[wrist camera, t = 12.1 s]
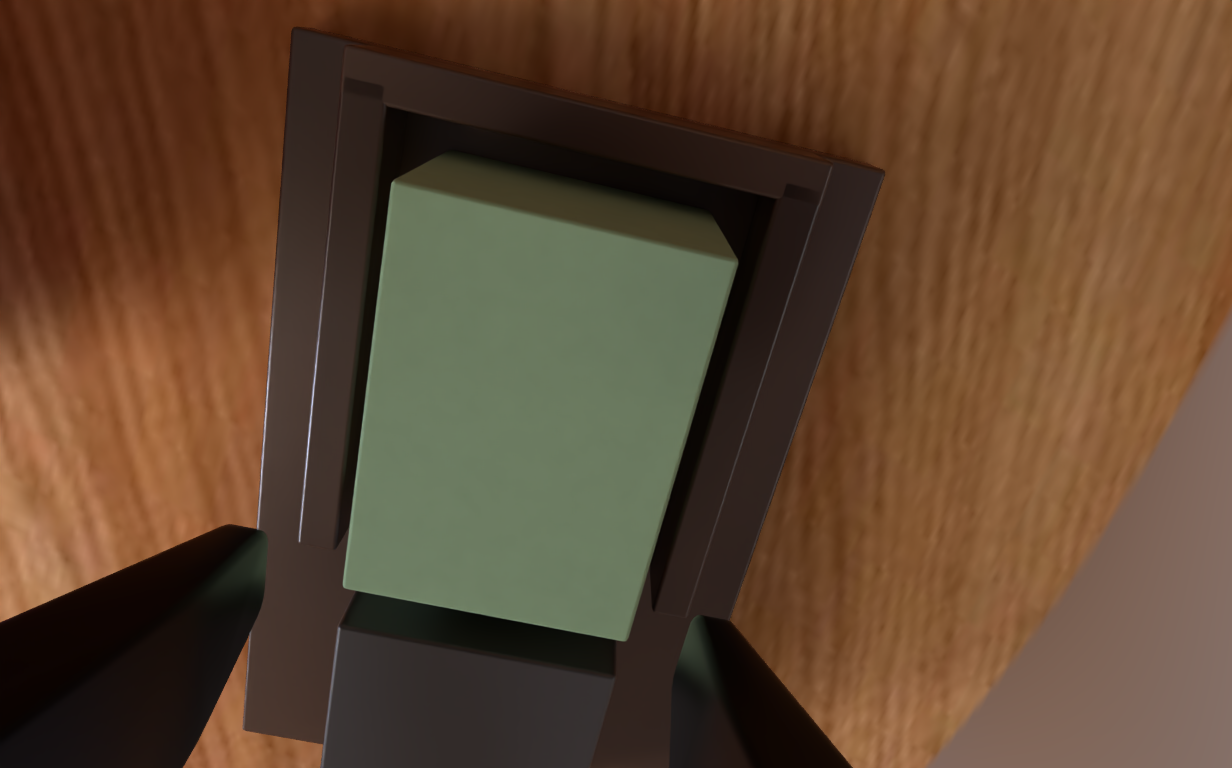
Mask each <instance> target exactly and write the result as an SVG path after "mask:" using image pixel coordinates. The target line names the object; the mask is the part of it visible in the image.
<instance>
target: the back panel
mask: <svg viewBox="0 0 1232 768" xmlns="http://www.w3.org/2000/svg"><path fill="white" fill-rule="evenodd" d="M449 150H454V151H459V152H463V153H467V154H471V155H476V156H480V157H484V158H488V159H493V160H497V161H501V162H505V163H510V164H514V165H518V166H522V167H527V168H531V169H535V170H539V171H544V172H548V173H552V174H556V175H561V176H565V177H569V178H573V179H577V180H582V181H586V182H590V183H594V184H599V185H603V186H607V187H611V188H616V189H620V190H624V191H628V192H633V193H637V194H641V195H645V196H650V197H654V198H658V199H662V200H667V201H671V202H675V203H679V204H684V205H688V206H692V207H696V208H701V209H705V210H708V211H709V212H710V213H711V214H712V216H713V218H714V219H715V221H716V223H717V225H718V226H719V228H720V230H721V232H722V233H723V235H724V237H725V238H726V240H727V242H728V244H729V245H730V247H731V249H732V251H733V252H734V254H735V256H736V257H737V259H738V266H737V270H736V273H735V277H734V280H733V283H732V287H731V290H730V294H729V297H728V300H727V304H726V307H725V311H724V314H723V317H722V321H721V324H720V328H719V331H718V335H717V338H716V341H715V345H714V348H713V352H712V355H711V358H710V362H709V365H708V369H707V372H706V375H705V379H704V382H703V386H702V389H701V392H700V396H699V399H698V403H697V406H696V409H695V413H694V416H693V420H692V423H691V426H690V430H689V433H688V437H687V440H686V444H685V447H684V450H683V454H682V457H681V461H680V464H679V467H678V471H677V474H676V478H675V481H674V484H673V488H672V491H671V495H670V498H669V501H668V505H667V508H666V512H665V515H664V518H663V522H662V525H661V529H660V532H659V535H658V539H657V542H656V546H655V549H654V553H653V556H652V559H651V563H650V566H649V570H648V573H647V576H646V580H645V583H644V587H643V590H642V593H641V597H640V600H639V604H638V607H637V610H636V614H635V617H634V621H633V624H632V627H631V631H630V634H629V638H628V639H627V641H618V640H613V639H608V638H603V637H597V636H592V635H587V634H582V633H576V632H571V631H566V630H561V629H555V628H550V627H545V626H539V625H534V624H529V623H524V622H518V621H513V620H508V619H503V618H497V617H492V616H487V615H482V614H476V613H471V612H466V611H460V610H455V609H450V608H445V607H439V606H434V605H429V604H424V603H418V602H413V601H408V600H403V599H397V598H392V597H387V596H381V595H376V594H371V593H366V592H360V591H355V590H350V589H346V588H344V587H343V577H344V569H345V561H346V553H347V544H348V536H349V528H350V520H351V511H352V503H353V495H354V487H355V479H356V470H357V462H358V454H359V446H360V437H361V429H362V421H363V413H364V405H365V396H366V388H367V380H368V372H369V363H370V355H371V347H372V339H373V331H374V322H375V314H376V306H377V298H378V289H379V281H380V273H381V265H382V257H383V248H384V240H385V232H386V224H387V215H388V207H389V199H390V191H391V183H392V182H393V180H395V179H396V178H398V177H400V176H402V175H404V174H406V173H408V172H410V171H411V170H413V169H415V168H417V167H419V166H421V165H423V164H425V163H426V162H428V161H430V160H432V159H434V158H436V157H438V156H440V155H441V154H443V153H445V152H447V151H449ZM884 177H885V171H884V170H883V169H880V168H878V167H876V166H873V165H871V164H868V163H864V162H860V161H856V160H852V159H847V158H843V157H839V156H835V155H831V154H827V153H823V152H819V151H815V150H811V149H806V148H802V147H798V146H794V145H790V144H786V143H782V142H778V141H774V140H770V139H766V138H761V137H757V136H753V135H749V134H745V133H741V132H737V131H733V130H729V129H725V128H720V127H716V126H712V125H708V124H704V123H700V122H696V121H692V120H688V119H684V118H679V117H675V116H671V115H667V114H663V113H659V112H655V111H651V110H647V109H643V108H638V107H634V106H630V105H626V104H622V103H618V102H614V101H610V100H606V99H602V98H598V97H593V96H589V95H585V94H581V93H577V92H573V91H569V90H565V89H561V88H557V87H552V86H548V85H544V84H540V83H536V82H532V81H528V80H524V79H520V78H516V77H511V76H507V75H503V74H499V73H495V72H491V71H487V70H483V69H479V68H475V67H470V66H466V65H462V64H458V63H454V62H450V61H446V60H442V59H438V58H434V57H430V56H425V55H421V54H417V53H413V52H409V51H405V50H401V49H397V48H393V47H389V46H384V45H380V44H376V43H372V42H368V41H364V40H360V39H356V38H352V37H348V36H343V35H339V34H335V33H331V32H327V31H323V30H319V29H315V28H306V27H293V28H292V31H291V44H290V58H289V73H288V87H287V101H286V116H285V130H284V144H283V159H282V173H281V187H280V202H279V216H278V230H277V245H276V259H275V273H274V287H273V302H272V316H271V330H270V345H269V359H268V373H267V388H266V402H265V416H264V431H263V445H262V459H261V474H260V488H259V502H258V517H257V529H258V530H262V531H264V532H265V534H266V535H267V538H268V553H267V566H266V579H265V592H264V598H263V603H262V606H261V609H260V612H259V615H258V617H257V619H256V621H255V623H254V625H253V627H252V630H251V632H250V634H249V646H248V660H247V674H246V689H245V703H244V717H243V730H245V731H250V732H255V733H261V734H267V735H273V736H278V737H284V738H290V739H296V740H301V741H307V742H313V743H319V744H323V751H322V759H321V767H320V768H669V761H670V728H671V694H672V683H673V677H674V673H675V669H676V666H677V663H678V660H679V657H680V654H681V650H682V647H683V644H684V641H685V638H686V635H687V632H688V629H689V626H690V623H691V621H692V620H693V618H694V617H696V616H697V615H704V616H710V617H715V618H720V619H725V620H728V621H730V618H731V615H732V612H733V609H734V607H735V604H736V601H737V598H738V595H739V592H740V589H741V587H742V584H743V581H744V578H745V575H746V572H747V569H748V566H749V564H750V561H751V558H752V555H753V552H754V549H755V546H756V544H757V541H758V538H759V535H760V532H761V529H762V526H763V524H764V521H765V518H766V515H767V512H768V509H769V506H770V503H771V501H772V498H773V495H774V492H775V489H776V486H777V483H778V481H779V478H780V475H781V472H782V469H783V466H784V463H785V460H786V458H787V455H788V452H789V449H790V446H791V443H792V440H793V438H794V435H795V432H796V429H797V426H798V423H799V420H800V417H801V415H802V412H803V409H804V406H805V403H806V400H807V397H808V395H809V392H810V389H811V386H812V383H813V380H814V377H815V374H816V372H817V369H818V366H819V363H820V360H821V357H822V354H823V352H824V349H825V346H826V343H827V340H828V337H829V334H830V332H831V329H832V326H833V323H834V320H835V317H836V314H837V311H838V309H839V306H840V303H841V300H842V297H843V294H844V291H845V289H846V286H847V283H848V280H849V277H850V274H851V271H852V268H853V266H854V263H855V260H856V257H857V254H858V251H859V248H860V246H861V243H862V240H863V237H864V234H865V231H866V228H867V225H868V223H869V220H870V217H871V214H872V211H873V208H874V205H875V203H876V200H877V197H878V194H879V191H880V188H881V185H882V183H883V180H884Z"/></svg>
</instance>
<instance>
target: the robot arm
mask: <svg viewBox="0 0 1232 768" xmlns="http://www.w3.org/2000/svg"><path fill="white" fill-rule="evenodd" d="M267 553H268V538H267V535H266V534H265V532H264V531H262V530H258V529H253V528H248V527H243V526H238V525H232V524H228V525H224V526H221V527H219V528H217V529H214V530H212V531H210V532H207V533H205V534H203V535H200V536H198V537H196V538H194V539H191V540H189V541H187V542H184V543H182V544H180V545H177V546H175V547H173V548H171V549H168V550H166V551H164V552H161V553H159V554H157V555H154V556H152V557H150V558H148V559H145V560H143V561H141V562H138V563H136V564H134V565H131V566H129V567H127V568H125V569H122V570H120V571H118V572H115V573H113V574H111V575H108V576H106V577H104V578H102V579H99V580H97V581H95V582H92V583H90V584H88V585H85V586H83V587H81V588H78V589H76V590H74V591H72V592H69V593H67V594H65V595H62V596H60V597H58V598H55V599H53V600H51V601H49V602H46V603H44V604H42V605H39V606H37V607H35V608H32V609H30V610H28V611H26V612H23V613H21V614H19V615H16V616H14V617H12V618H9V619H7V620H5V621H3V622H0V768H183V766H184V765H185V763H186V761H187V759H188V758H189V756H190V754H191V752H192V751H193V749H194V747H195V746H196V744H197V742H198V740H199V738H200V736H201V734H202V732H203V730H204V728H205V726H206V724H207V722H208V720H209V718H210V716H211V714H212V712H213V709H214V707H215V705H216V703H217V701H218V699H219V697H220V695H221V693H222V691H223V688H224V686H225V684H226V682H227V680H228V678H229V676H230V674H231V672H232V670H233V667H234V665H235V663H236V661H237V659H238V657H239V655H240V653H241V651H242V648H243V646H244V644H245V642H246V640H247V638H248V636H249V634H250V632H251V630H252V627H253V625H254V623H255V621H256V619H257V617H258V615H259V612H260V609H261V606H262V603H263V598H264V592H265V579H266V566H267ZM669 768H853V767H852V766H851V765H850V764H849V763H848V761H847V760H846V759H845V758H844V757H843V755H842V754H841V753H840V752H839V751H838V749H837V748H836V747H835V746H834V745H833V743H832V742H831V741H830V740H829V738H828V737H827V736H826V735H825V734H824V732H823V731H822V730H821V729H820V728H819V726H818V725H817V724H816V723H815V722H814V720H813V719H812V718H811V717H810V716H809V714H808V713H807V712H806V711H805V710H804V708H803V707H802V706H801V705H800V704H799V702H798V701H797V700H796V699H795V698H794V696H793V695H792V694H791V693H790V692H789V690H788V689H787V688H786V687H785V685H784V684H783V683H782V682H781V681H780V679H779V678H778V677H777V676H776V675H775V673H774V672H773V671H772V670H771V669H770V667H769V666H768V665H767V664H766V663H765V661H764V660H763V659H762V658H761V657H760V655H759V654H758V653H757V652H756V651H755V649H754V648H753V647H752V646H751V645H750V643H749V642H748V641H747V640H746V638H745V637H744V636H743V635H742V634H741V632H740V631H739V630H738V629H737V628H736V626H735V625H734V624H733V623H732V622H730V621H728V620H725V619H720V618H715V617H710V616H704V615H697V616H696V617H694V618H693V620H692V621H691V623H690V626H689V629H688V632H687V635H686V638H685V641H684V644H683V647H682V650H681V654H680V657H679V660H678V663H677V666H676V669H675V673H674V677H673V683H672V694H671V728H670V761H669Z"/></svg>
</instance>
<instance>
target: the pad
mask: <svg viewBox="0 0 1232 768" xmlns="http://www.w3.org/2000/svg"><path fill="white" fill-rule="evenodd" d="M737 266H738V259H737V257H736V256H735V254H734V252H733V251H732V249H731V247H730V245H729V244H728V242H727V240H726V238H725V237H724V235H723V233H722V232H721V230H720V228H719V226H718V225H717V223H716V221H715V219H714V218H713V216H712V214H711V213H710V212H709V211H708V210H705V209H701V208H696V207H692V206H688V205H684V204H679V203H675V202H671V201H667V200H662V199H658V198H654V197H650V196H645V195H641V194H637V193H633V192H628V191H624V190H620V189H616V188H611V187H607V186H603V185H599V184H594V183H590V182H586V181H582V180H577V179H573V178H569V177H565V176H561V175H556V174H552V173H548V172H544V171H539V170H535V169H531V168H527V167H522V166H518V165H514V164H510V163H505V162H501V161H497V160H493V159H488V158H484V157H480V156H476V155H471V154H467V153H463V152H459V151H454V150H449V151H447V152H445V153H443V154H441V155H440V156H438V157H436V158H434V159H432V160H430V161H428V162H426V163H425V164H423V165H421V166H419V167H417V168H415V169H413V170H411V171H410V172H408V173H406V174H404V175H402V176H400V177H398V178H396V179H395V180H393V182H392V183H391V191H390V199H389V207H388V215H387V224H386V232H385V240H384V248H383V257H382V265H381V273H380V281H379V289H378V298H377V306H376V314H375V322H374V331H373V339H372V347H371V355H370V363H369V372H368V380H367V388H366V396H365V405H364V413H363V421H362V429H361V437H360V446H359V454H358V462H357V470H356V479H355V487H354V495H353V503H352V511H351V520H350V528H349V536H348V544H347V553H346V561H345V569H344V577H343V587H344V588H346V589H350V590H355V591H360V592H366V593H371V594H376V595H381V596H387V597H392V598H397V599H403V600H408V601H413V602H418V603H424V604H429V605H434V606H439V607H445V608H450V609H455V610H460V611H466V612H471V613H476V614H482V615H487V616H492V617H497V618H503V619H508V620H513V621H518V622H524V623H529V624H534V625H539V626H545V627H550V628H555V629H561V630H566V631H571V632H576V633H582V634H587V635H592V636H597V637H603V638H608V639H613V640H618V641H627V639H628V638H629V634H630V631H631V627H632V624H633V621H634V617H635V614H636V610H637V607H638V604H639V600H640V597H641V593H642V590H643V587H644V583H645V580H646V576H647V573H648V570H649V566H650V563H651V559H652V556H653V553H654V549H655V546H656V542H657V539H658V535H659V532H660V529H661V525H662V522H663V518H664V515H665V512H666V508H667V505H668V501H669V498H670V495H671V491H672V488H673V484H674V481H675V478H676V474H677V471H678V467H679V464H680V461H681V457H682V454H683V450H684V447H685V444H686V440H687V437H688V433H689V430H690V426H691V423H692V420H693V416H694V413H695V409H696V406H697V403H698V399H699V396H700V392H701V389H702V386H703V382H704V379H705V375H706V372H707V369H708V365H709V362H710V358H711V355H712V352H713V348H714V345H715V341H716V338H717V335H718V331H719V328H720V324H721V321H722V317H723V314H724V311H725V307H726V304H727V300H728V297H729V294H730V290H731V287H732V283H733V280H734V277H735V273H736V270H737Z"/></svg>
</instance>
